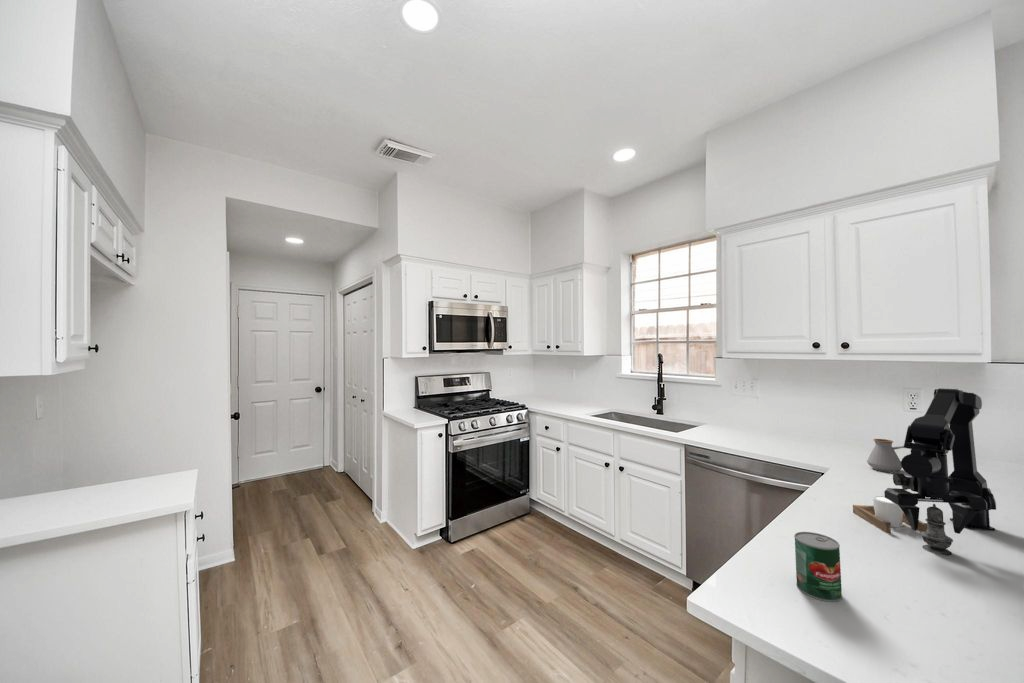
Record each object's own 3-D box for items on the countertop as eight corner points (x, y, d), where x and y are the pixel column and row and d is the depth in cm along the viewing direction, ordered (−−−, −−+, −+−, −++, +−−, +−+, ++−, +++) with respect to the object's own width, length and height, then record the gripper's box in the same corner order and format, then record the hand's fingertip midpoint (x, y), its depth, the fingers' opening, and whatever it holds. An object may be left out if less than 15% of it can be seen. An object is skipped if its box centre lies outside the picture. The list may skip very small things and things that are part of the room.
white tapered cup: (896, 519, 120) (895, 496, 120) (910, 529, 114) (909, 504, 114) (868, 517, 122) (867, 494, 123) (881, 526, 116) (879, 502, 116)
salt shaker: (948, 558, 97) (945, 509, 98) (916, 548, 103) (913, 502, 103) (958, 552, 100) (955, 505, 100) (926, 543, 105) (923, 498, 106)
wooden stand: (893, 514, 124) (893, 504, 124) (933, 536, 109) (932, 525, 109) (852, 512, 126) (852, 502, 126) (886, 533, 111) (885, 522, 111)
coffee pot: (863, 469, 172) (861, 434, 172) (872, 464, 178) (870, 431, 179) (933, 481, 154) (930, 443, 154) (940, 476, 160) (938, 439, 161)
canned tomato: (828, 606, 80) (825, 551, 80) (788, 585, 87) (786, 535, 88) (850, 595, 83) (847, 543, 84) (809, 577, 90) (807, 529, 91)
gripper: (947, 464, 108) (951, 521, 107) (869, 461, 112) (872, 516, 111) (987, 476, 97) (991, 540, 96) (898, 473, 101) (902, 534, 100)
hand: (935, 531), depth 101 cm, fingers open, 9 cm apart
